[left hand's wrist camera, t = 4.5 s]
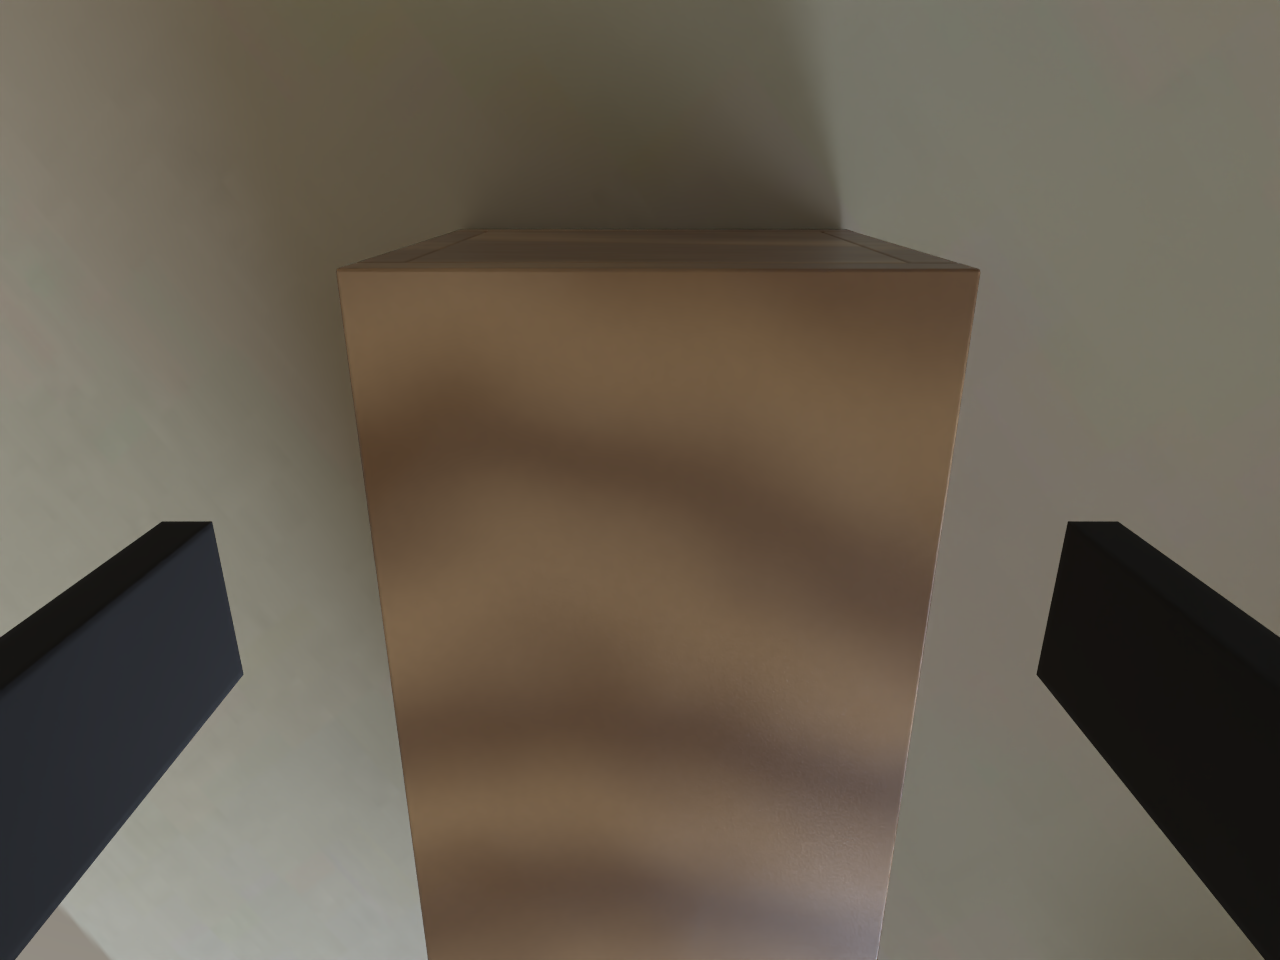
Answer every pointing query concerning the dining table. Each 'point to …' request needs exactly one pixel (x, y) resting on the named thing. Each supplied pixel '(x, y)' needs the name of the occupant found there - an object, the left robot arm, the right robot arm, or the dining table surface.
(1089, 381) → the dining table surface
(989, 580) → the dining table surface
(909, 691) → the cabinet
